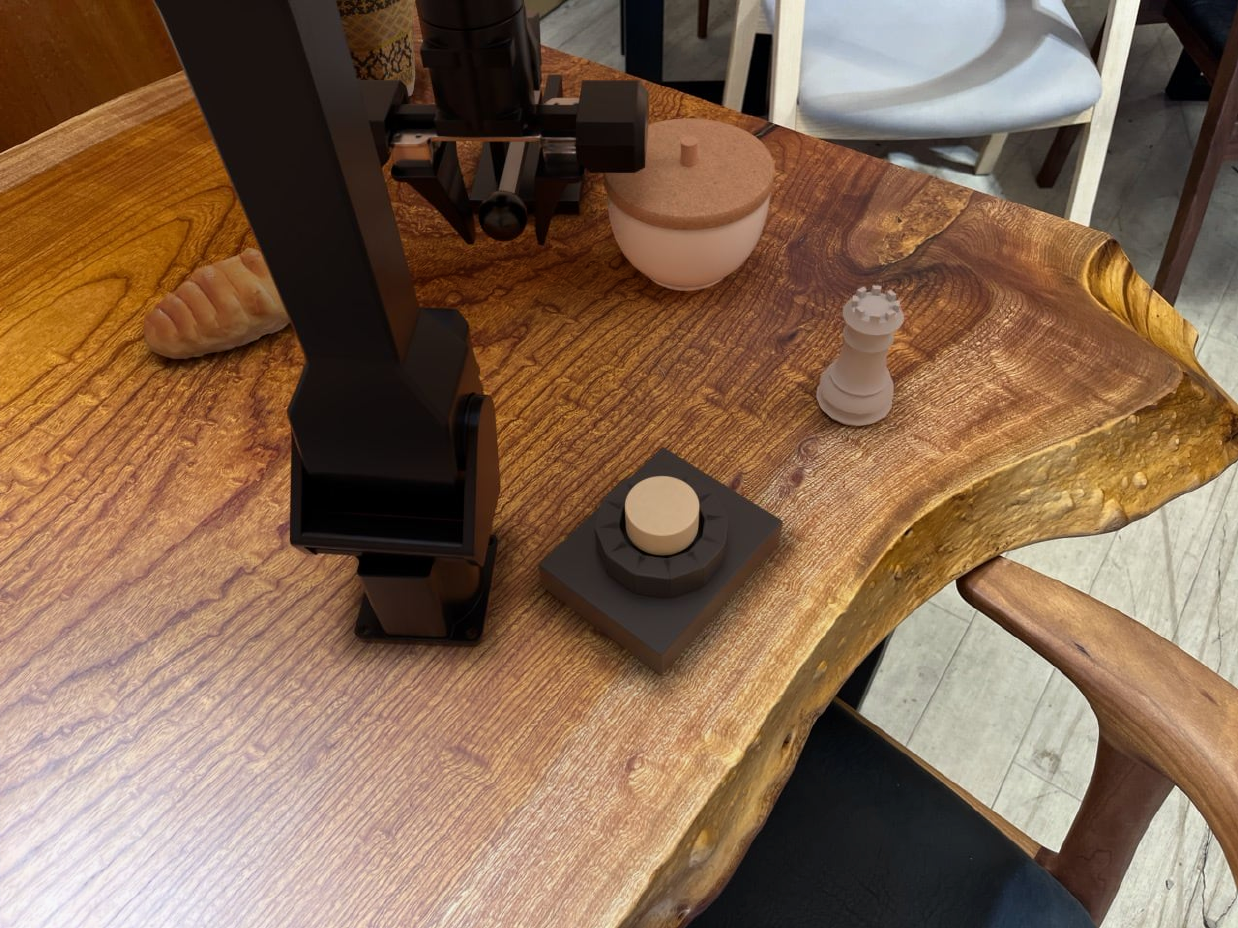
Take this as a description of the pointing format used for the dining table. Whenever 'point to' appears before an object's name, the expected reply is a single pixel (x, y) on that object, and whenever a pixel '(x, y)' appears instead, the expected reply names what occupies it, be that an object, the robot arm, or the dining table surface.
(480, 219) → the lever handle
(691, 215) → the trinket box
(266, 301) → the pastry
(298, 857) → the dining table surface
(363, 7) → the ceramic cup
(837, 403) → the rook chess piece
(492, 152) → the lever bracket
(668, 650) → the button housing
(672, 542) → the button
